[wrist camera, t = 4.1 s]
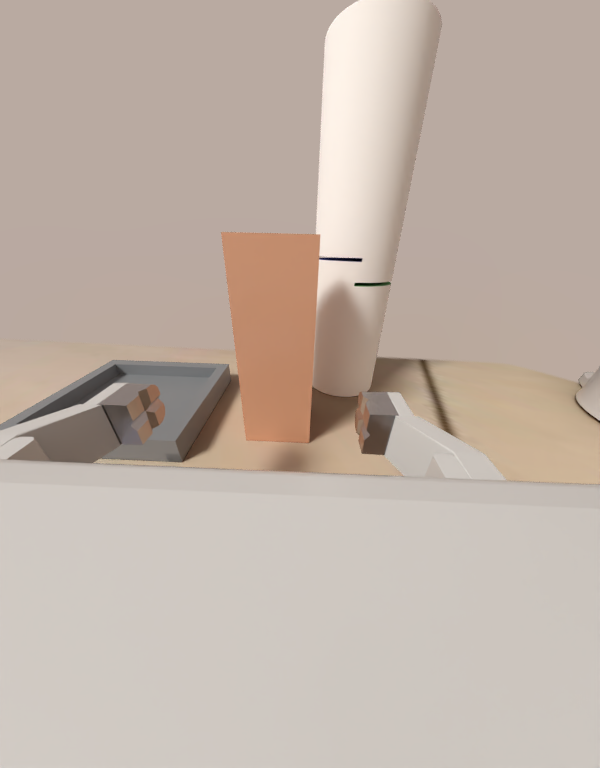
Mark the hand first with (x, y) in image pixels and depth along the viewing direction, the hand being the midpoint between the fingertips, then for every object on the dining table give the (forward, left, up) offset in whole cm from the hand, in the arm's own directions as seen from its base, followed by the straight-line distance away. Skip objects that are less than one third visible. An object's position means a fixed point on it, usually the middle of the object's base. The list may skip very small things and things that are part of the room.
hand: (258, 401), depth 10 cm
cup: (0, -9, -8) cm, 12 cm away
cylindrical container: (-6, -17, -8) cm, 19 cm away
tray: (+13, -10, -8) cm, 18 cm away
